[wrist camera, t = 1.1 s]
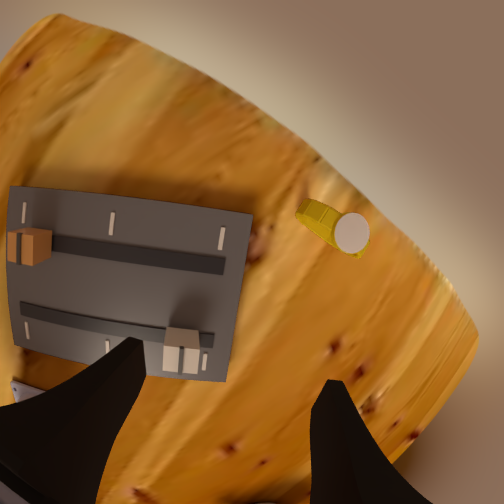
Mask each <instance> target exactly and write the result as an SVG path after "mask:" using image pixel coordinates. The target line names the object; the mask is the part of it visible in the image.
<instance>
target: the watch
mask: <svg viewBox="0 0 504 504" xmlns="http://www.w3.org/2000/svg"><path fill="white" fill-rule="evenodd" d="M295 217H296V218H297V219H298V220H299V221H300V222H301V224H302V225H305V226H306V227H307V228H308V229H310V230H311V231H312V232H314V233H315V234H316V235H318V236H319V237H320V238H322V239H323V240H324V241H325V242H327V243H328V244H330V245H332V246H333V247H335V248H336V249H338V250H339V251H341V252H343V253H345V254H347V255H349V256H352V257H355V258H361V257H362V255H363V253H364V252H365V250H366V249H367V247H368V245H369V244H370V240H369V233H370V232H369V226H368V223H367V221H366V220H365V218H364V217H363V216H361V215H360V214H358V213H353V212H346V213H342V214H341V213H340V212H338V211H336V210H335V209H333V208H332V207H329V206H328V205H326V204H323V203H321V202H319V201H317V200H313V199H304V200H303V202H302V203H301V205H300V206H299V208H298V209H297V211H296V213H295Z"/></svg>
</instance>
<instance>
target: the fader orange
mask: <svg viewBox="0 0 504 504" xmlns="http://www.w3.org/2000/svg"><path fill="white" fill-rule="evenodd" d="M51 246H52V230H45V229H38V228H31V227H27V228H22V229H18V230H13V231H9V232H8V244H7V259H8V261H11V262H15V263H16V265H21V264H25V265H30V266H34V265H36V264H38V263H40V262H42V261H44V260H46V259H48V258H51Z"/></svg>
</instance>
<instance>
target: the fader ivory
mask: <svg viewBox="0 0 504 504" xmlns="http://www.w3.org/2000/svg"><path fill="white" fill-rule="evenodd" d="M199 354H200V345H199V332H198V330H190V329H181V328H172V327H167V328H166V334H165V340H164V349H163V371H171V372H178V375H182V373H190V374H197V372H198V363H199Z"/></svg>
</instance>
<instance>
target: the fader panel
mask: <svg viewBox="0 0 504 504" xmlns="http://www.w3.org/2000/svg"><path fill="white" fill-rule="evenodd" d="M252 219H253V215H251V214H247V213H241V212H234V211H228V210H222V209H215V208H208V207H202V206H195V205H188V204H180V203H173V202H166V201H158V200H151V199H143V198H135V197H126V196H118V195H109V194H100V193H91V192H81V191H71V190H61V189H49V188H38V187H25V186H10V191H9V200H8V212H7V229H6V273H7V290H8V302H9V311H10V319H11V326H12V333H13V339H14V345H17V346H20V347H23V348H27V349H30V350H33V351H37V352H40V353H44V354H47V355H51V356H55V357H59V358H63V359H67V360H71V361H75V362H79V363H84V364H88V365H91V364H93V363H94V362H96V361H97V360H98V359H100V358H101V357H103V356H104V355H105V354H106V353H108V352H109V351H110V350H112V349H113V348H114V347H116V346H117V345H118V344H119V343H121V342H122V341H123V340H125V339H126V338H127V337H129V336H130V337H134V338H137V339H140V340H143V344H144V354H145V364H146V372H147V374H146V375H152V376H160V377H168V378H177V379H188V380H199V381H214V382H226V377H227V371H228V365H229V358H230V352H231V346H232V340H233V334H234V328H235V322H236V316H237V309H238V303H239V297H240V291H241V285H242V279H243V273H244V267H245V261H246V255H247V249H248V243H249V237H250V231H251V225H252ZM27 227H31V228H38V229H45V230H52V246H51V258H48V259H46V260H44V261H42V262H40V263H38V264H36V265H34V266H30V265H25V264H21V265H16V263H15V262H11V261H8V259H7V244H8V232H9V231H13V230H18V229H22V228H27ZM167 327H172V328H181V329H190V330H198V332H199V345H200V354H199V363H198V372H197V374H190V373H182V375H178V372H171V371H163V349H164V340H165V334H166V328H167Z"/></svg>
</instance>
